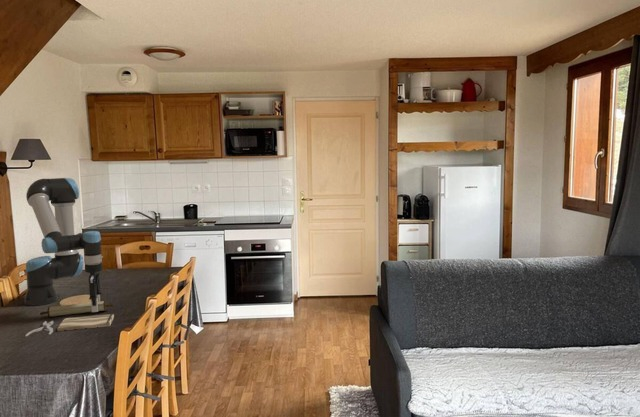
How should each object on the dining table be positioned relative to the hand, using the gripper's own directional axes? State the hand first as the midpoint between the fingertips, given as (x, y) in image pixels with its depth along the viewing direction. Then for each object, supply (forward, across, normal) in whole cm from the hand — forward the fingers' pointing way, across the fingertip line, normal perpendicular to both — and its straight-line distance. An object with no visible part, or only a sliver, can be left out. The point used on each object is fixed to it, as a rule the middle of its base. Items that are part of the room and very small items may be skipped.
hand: (96, 309), depth 227 cm
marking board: (+1, -16, +1) cm, 16 cm away
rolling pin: (+1, -1, +8) cm, 8 cm away
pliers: (+2, -18, +18) cm, 26 cm away
